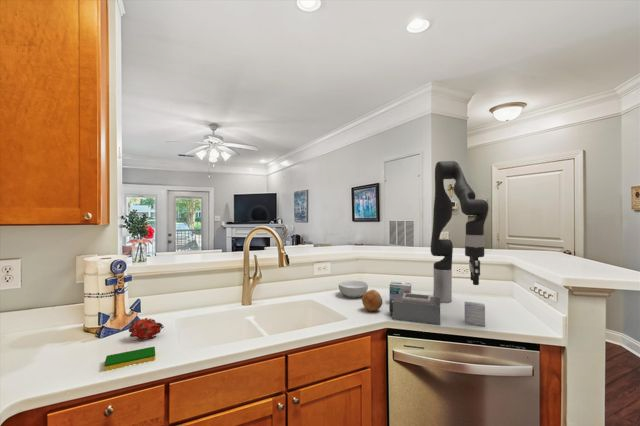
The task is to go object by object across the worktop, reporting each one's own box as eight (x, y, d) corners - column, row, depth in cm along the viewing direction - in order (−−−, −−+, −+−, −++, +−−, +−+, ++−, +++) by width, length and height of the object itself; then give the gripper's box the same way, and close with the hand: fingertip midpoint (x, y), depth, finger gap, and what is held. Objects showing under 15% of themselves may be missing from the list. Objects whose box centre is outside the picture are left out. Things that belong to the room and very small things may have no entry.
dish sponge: (106, 362, 100) (106, 355, 100) (154, 352, 107) (154, 345, 107) (104, 372, 94) (104, 365, 94) (155, 361, 101) (155, 354, 101)
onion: (362, 306, 156) (362, 287, 156) (382, 308, 154) (382, 288, 154) (361, 313, 146) (361, 292, 146) (382, 314, 144) (382, 293, 144)
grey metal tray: (392, 309, 152) (392, 290, 152) (439, 314, 144) (439, 294, 144) (388, 318, 139) (388, 297, 138) (440, 324, 131) (440, 302, 131)
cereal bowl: (336, 292, 183) (336, 280, 183) (363, 291, 185) (363, 279, 185) (341, 300, 167) (341, 287, 166) (371, 299, 168) (371, 286, 168)
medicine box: (484, 323, 133) (484, 303, 133) (485, 326, 129) (485, 306, 129) (464, 320, 136) (464, 301, 136) (464, 323, 132) (464, 303, 132)
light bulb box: (389, 304, 160) (389, 283, 160) (391, 300, 166) (391, 281, 166) (410, 306, 156) (410, 285, 156) (411, 303, 162) (411, 282, 162)
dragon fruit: (126, 344, 116) (161, 344, 120) (124, 338, 110) (160, 338, 114) (132, 321, 121) (165, 322, 125) (130, 314, 115) (165, 315, 119)
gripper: (463, 243, 140) (463, 278, 140) (466, 246, 127) (466, 285, 127) (481, 244, 138) (481, 279, 138) (487, 247, 124) (487, 287, 124)
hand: (474, 282), depth 132 cm, fingers open, 8 cm apart
